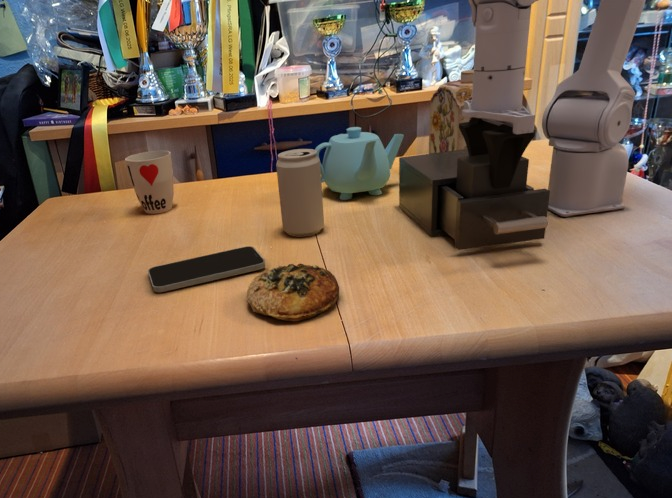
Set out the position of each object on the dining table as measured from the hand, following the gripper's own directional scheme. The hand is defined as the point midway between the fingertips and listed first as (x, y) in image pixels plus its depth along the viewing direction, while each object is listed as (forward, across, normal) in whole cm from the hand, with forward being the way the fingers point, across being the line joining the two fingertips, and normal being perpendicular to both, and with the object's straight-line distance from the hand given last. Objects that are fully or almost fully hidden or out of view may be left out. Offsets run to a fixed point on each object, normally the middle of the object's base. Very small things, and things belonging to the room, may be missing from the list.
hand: (490, 181), depth 72 cm
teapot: (+8, -30, -10) cm, 33 cm away
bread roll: (+8, +10, -28) cm, 31 cm away
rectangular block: (+1, 0, 0) cm, 1 cm away
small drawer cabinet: (+8, -11, 0) cm, 14 cm away
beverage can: (+8, -13, -23) cm, 28 cm away
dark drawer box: (+7, 0, 0) cm, 7 cm away
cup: (+8, -35, -47) cm, 59 cm away
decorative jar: (+8, -33, +12) cm, 36 cm away
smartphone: (+8, -2, -38) cm, 39 cm away
